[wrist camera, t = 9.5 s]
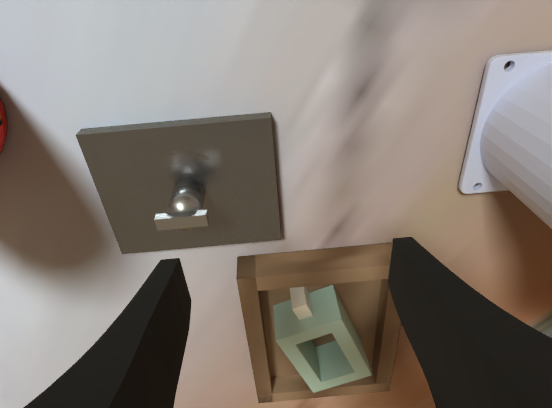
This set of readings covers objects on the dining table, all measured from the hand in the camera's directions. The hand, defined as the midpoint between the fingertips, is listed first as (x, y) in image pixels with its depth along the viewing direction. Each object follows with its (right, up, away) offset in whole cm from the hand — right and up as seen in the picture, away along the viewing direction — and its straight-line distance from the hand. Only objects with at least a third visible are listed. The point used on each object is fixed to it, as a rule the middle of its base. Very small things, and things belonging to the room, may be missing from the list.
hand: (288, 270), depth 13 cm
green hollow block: (+3, -7, +16) cm, 18 cm away
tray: (+3, -7, +17) cm, 18 cm away
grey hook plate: (-5, +3, +9) cm, 11 cm away
